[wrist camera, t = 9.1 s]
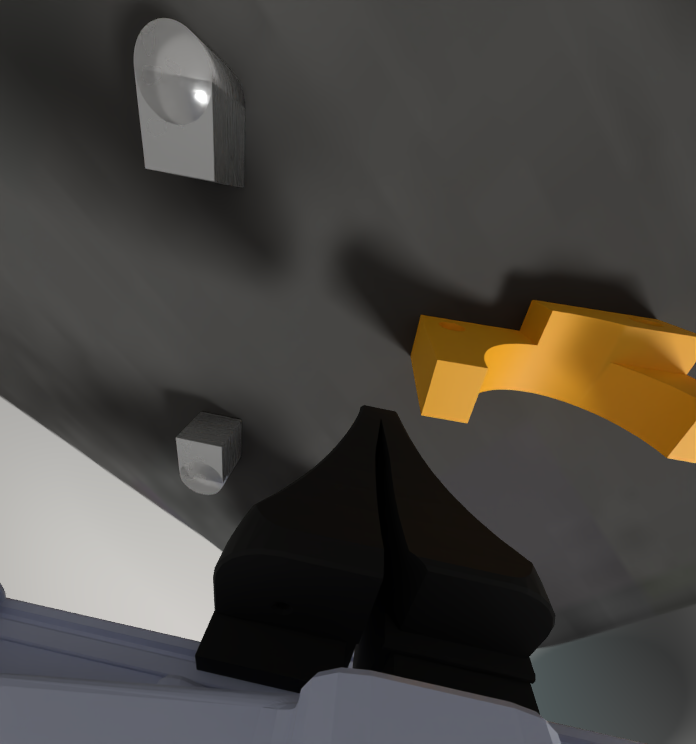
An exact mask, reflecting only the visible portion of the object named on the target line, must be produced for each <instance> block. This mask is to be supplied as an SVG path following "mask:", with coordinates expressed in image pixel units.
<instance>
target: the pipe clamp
mask: <svg viewBox="0 0 696 744" xmlns="http://www.w3.org/2000/svg"><path fill="white" fill-rule="evenodd" d="M411 361H412V367H413V372H414V378H415V383H416V389H417V394H418V400H419V405H420V411H421V415H423V416H428V417H434V418H440V419H446V420H451V421H457V422H463V423H468V420H469V418H470V415H471V413H472V410H473V407H474V405H475V402H476V399H477V397H478V394H479V393H481V392H484V391H489V390H498V389H507V390H518V391H525V392H531V393H536V394H540V395H544V396H548V397H551V398H555V399H558V400H561V401H564V402H567V403H570V404H572V405H575V406H578V407H580V408H583V409H585V410H588V411H590V412H592V413H594V414H597V415H599V416H601V417H603V418H605V419H607V420H609V421H611V422H613V423H615V424H617V425H619V426H620V427H622V428H624V429H626V430H627V431H629V432H631V433H632V434H634V435H636V436H637V437H639V438H640V439H642V440H643V441H645V442H646V443H648V444H649V445H651V446H652V447H653V448H655V449H656V450H657V451H659V452H660V453H661V454H662V455H664V456H665V457H666V458H669V459H675V460H681V461H687V462H692V463H696V379H694V378H692V377H690V376H688V375H687V373H688V372H689V371H690V369H691V368H692V367H693V365H694V364H695V362H696V333H693V332H690V331H688V330H685V329H682V328H679V327H677V326H674V325H671V324H668V323H666V322H663V321H660V320H657V319H652V318H645V317H639V316H633V315H626V314H620V313H614V312H607V311H601V310H595V309H588V308H582V307H576V306H569V305H563V304H557V303H550V302H544V301H538V300H532V301H531V304H530V306H529V309H528V311H527V314H526V316H525V319H524V321H523V324H522V326H521V328H520V331H518V330H512V329H506V328H500V327H493V326H487V325H481V324H475V323H469V322H463V321H456V320H450V319H444V318H438V317H432V316H426V315H421V316H420V320H419V324H418V328H417V332H416V336H415V340H414V344H413V348H412V352H411Z"/></svg>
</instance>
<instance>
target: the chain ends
mask: <svg viewBox="0 0 696 744" xmlns="http://www.w3.org/2000/svg"><path fill="white" fill-rule="evenodd" d="M133 61H134V73H135V81H136V90H137V99H138V108H139V117H140V126H141V135H142V143H143V152H144V161H145V168H146V169H150V170H155V171H159V172H164V173H169V174H173V175H178V176H183V177H187V178H193V179H198V180H203V181H209V182H214V183H219V184H225V185H230V186H235V187H241V188H244V152H245V101H244V95H243V91H242V88H241V85H240V83H239V81H238V79H237V77H236V76H235V74H234V73H233V72H232V71H231V69H230V68H229V67H228V66H227V65H226V64H225V63H223V62H222V61H221V60H220V59H219V58H218V57H217V56H216V55H215V54H214V53H213V52H212V51H211V50H210V49H209V48H208V47H207V46H206V45H205V44H204V43H203V42H202V41H201V40H200V39H199V38H198V37H197V36H196V35H195V34H194V33H193V32H191V31H190V30H189V29H188V28H187V27H186V26H185V25H183V24H181V23H180V22H178V21H176V20H173V19H169V18H159V19H155V20H153V21H151V22H149V23H148V24H147V25H146V26H145V27H144V28H143V29H142V30H141V32H140V34H139V35H138V38H137V40H136V44H135V48H134V60H133ZM241 430H242V420H240V419H236V418H231V417H226V416H221V415H216V414H212V413H207V412H202V411H201V412H200V413H199V414H198V415H197V416H196V417H195V418H194V419H193V420H192V421H191V422H190V423H189V424H188V425H187V426H186V427H185V428H184V430H183V431H182V432H181V433H180V434H179V435H178V436H177V437H176V444H177V453H178V462H179V471H180V477H181V479H182V481H183V483H184V484H185V485H186V486H187V487H188V488H190V489H191V490H193V491H195V492H197V493H200V494H204V495H212V494H215V493H217V492H219V491H220V490H221V488H222V487H223V485H224V484H225V482H226V480H227V479H228V477H229V475H230V474H231V472H232V471H233V469H234V467H235V466H236V464H237V462H238V461H239V459H240V457H241Z"/></svg>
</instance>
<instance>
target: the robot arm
mask: <svg viewBox="0 0 696 744" xmlns="http://www.w3.org/2000/svg"><path fill="white" fill-rule="evenodd" d="M213 583H214V603H215V611H214V613H213V616H212V618H211V620H210V623H209V625H208V627H207V629H206V631H205V634H204V636H203V638H202V640H201V642H198V641H194V640H190V639H185V638H181V637H177V636H172V635H168V634H163V633H159V632H155V631H150V630H146V629H142V628H137V627H133V626H128V625H124V624H120V623H115V622H111V621H106V620H102V619H98V618H93V617H89V616H84V615H80V614H76V613H71V612H67V611H63V610H58V609H54V608H49V607H45V606H40V605H36V604H32V603H27V602H23V601H18V600H14V599H10V598H6V595H5V591H4V589H3V587H2V585H1V584H0V744H646V743H641V742H637V741H632V740H628V739H624V738H619V737H615V736H610V735H606V734H602V733H597V732H593V731H589V730H584V729H580V728H575V727H570V726H567V725H562V724H557V723H553V722H549V721H546V720H545V719H544V718H543V717H542V716H540V713H539V710H538V706H537V704H536V700H535V697H534V694H533V691H532V687H531V684H530V683H532V684H533V683H534V682H535V673H534V670H533V667H532V664H531V661H530V658H529V656H530V655H531V654H532V653H533V652H534V651H535V650H536V649H537V648H538V646H539V645H540V644H541V643H542V642H543V641H544V640H545V639H546V638H547V637H548V635H549V633H550V632H551V630H552V628H553V627H554V624H555V613H554V611H553V609H552V606H551V604H550V601H549V599H548V596H547V594H546V591H545V589H544V587H543V584H542V582H541V580H540V578H539V576H538V574H537V572H536V570H535V568H534V566H533V564H532V563H531V562H530V561H528V560H527V559H526V558H525V557H523V556H522V555H521V554H519V553H518V552H517V551H515V550H514V549H513V548H511V547H510V546H509V545H507V544H506V543H505V542H503V541H502V540H501V539H500V538H498V537H497V536H496V535H495V534H493V533H492V532H491V531H490V530H489V529H488V528H487V527H485V526H484V525H483V524H482V523H481V522H480V521H478V520H477V519H476V518H475V517H474V516H473V515H472V514H471V513H470V512H469V511H468V510H467V509H466V508H465V507H464V506H463V505H462V504H461V503H460V502H459V501H458V500H457V499H456V498H455V497H454V496H453V495H452V494H451V493H450V492H449V491H448V490H447V489H446V488H445V487H444V485H443V484H442V483H441V482H440V481H439V479H438V478H437V477H436V476H435V475H434V473H433V472H432V471H431V469H430V468H429V467H428V465H427V464H426V463H425V461H424V460H423V458H422V457H421V455H420V454H419V452H418V451H417V449H416V447H415V446H414V444H413V442H412V441H411V439H410V437H409V436H408V434H407V432H406V430H405V428H404V426H403V424H402V422H401V420H400V418H399V416H398V414H397V413H396V412H395V411H390V410H385V409H380V408H375V407H370V406H366V405H364V406H362V407H361V408H360V412H359V414H358V416H357V418H356V420H355V422H354V423H353V425H352V426H351V428H350V429H349V431H348V432H347V433H346V435H345V436H344V437H343V438H342V440H341V441H340V442H339V443H338V444H337V446H336V447H335V448H334V449H333V450H332V451H331V452H330V453H329V454H328V455H327V456H326V457H325V458H324V459H323V460H322V461H321V462H320V463H318V464H317V465H316V466H315V467H314V468H313V469H311V470H310V471H309V472H308V473H306V474H305V475H304V476H302V477H301V478H299V479H298V480H296V481H295V482H293V483H292V484H290V485H289V486H287V487H286V488H284V489H283V490H281V491H280V492H278V493H276V494H274V495H272V496H270V497H269V498H267V499H265V500H263V501H261V502H259V503H257V504H255V505H254V506H253V507H252V508H251V509H250V511H249V512H248V513H247V515H246V516H245V517H244V518H243V520H242V521H241V523H240V524H239V525H238V527H237V528H236V530H235V531H234V533H233V534H232V536H231V537H230V539H229V541H228V542H227V544H226V546H225V548H224V550H223V552H222V555H221V556H220V558H219V560H218V562H217V565H216V567H215V570H214V575H213Z"/></svg>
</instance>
